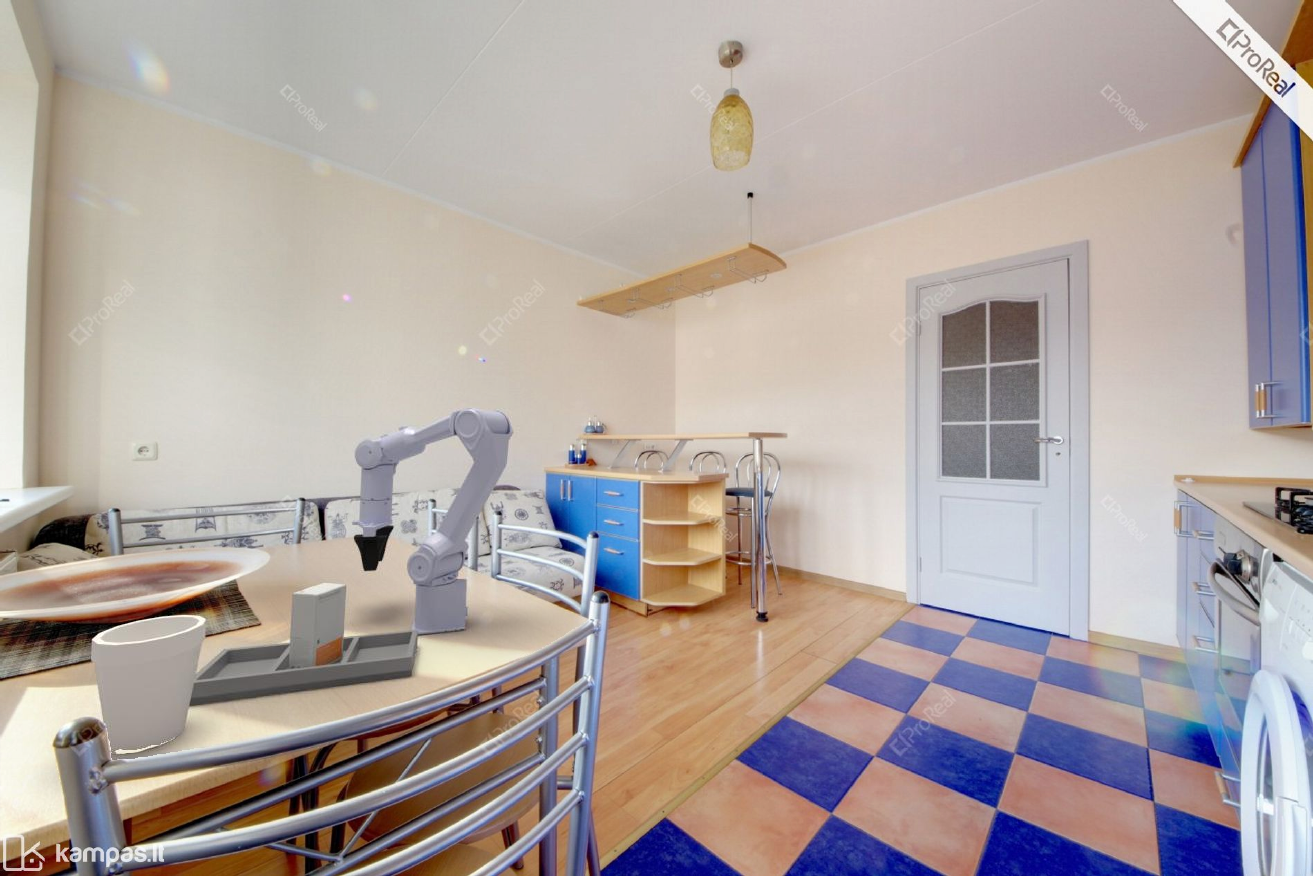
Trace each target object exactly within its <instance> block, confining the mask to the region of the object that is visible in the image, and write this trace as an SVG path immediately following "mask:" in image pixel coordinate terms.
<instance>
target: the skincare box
mask: <svg viewBox="0 0 1313 876" xmlns="http://www.w3.org/2000/svg"><path fill="white" fill-rule="evenodd" d="M346 596H347V584H343V583H342V584H341V583H333V582H332V583H329V582H322V583H319V584H317V585H313V586H310V587H307V588H305V589H302V590H299V591H295V592H293V593H292V595H291V597H292V598H291V615H290V632H289V633H290V634H289V635H290V636H289V643H290V650H289V669H295V668H304V667H312V666H321V665H329V664H333V663H335V662H337V661H340V660H341V659H342V658H343V640H344V637H345V634H344V633H345V621H346V620H345V616H346V614H345V613H346V599H347V598H346Z"/></svg>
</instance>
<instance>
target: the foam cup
mask: <svg viewBox="0 0 1313 876" xmlns="http://www.w3.org/2000/svg"><path fill="white" fill-rule="evenodd" d="M206 625H207V619H206V618H204V617H203V616H201V615H191V614H190V615H189V614H181V615H180V614H178V615H169V616H168V615H165V616H159V617H154V618H147V619H142V620H136V621H133V622H132V621H131V622H128V623H125V624H121V625H117V626H114V627H112V628H111V627H110V628H109V629H106V630H104V631H102V632H99V633H97V635H95V636H94V637H93V638H92V639H91V651H90V652H91V654H90V655H91V656H90V657H91V658H90V661H91V662H92V663H93V664H94V672H95V676H96V682H97V683H96V684H97V690H98V697H99V702H100V708H101V716H102V721H103V724H104V723H105V724H106V728H107V732H108V739H109V741H110V747H111V752H112V754H111V755H117V754H116V752H115V751H116V750H119V749H122V750H137V749H142V748H146V747H148V746H151V745H160V744H161V743H164V742H166V741H169V740H171V739H173V738H174V737H176V736H177V735H178V736H180V735H181V734H183V732H184V730H185V724H186V723H187V717H188V714H189V708H190V706H189V704H190V699H191V695H192V690H193V685H194V680H195V675H196V674H197V670H198V664H199V660H200V654H201V651H202V650H201V649H202V645H203V643H204V641H205V638H206V630H207V629H206V627H207V626H206ZM179 734H180V735H179ZM178 736H177V737H178ZM177 737H176V738H177ZM174 739H175V738H174ZM174 739H173V740H174ZM171 741H172V740H171ZM169 742H170V741H169ZM160 746H161V745H160ZM111 752H110V753H111ZM118 755H120V754H118ZM121 755H122V756H125V755H124V754H121ZM121 755H120V756H121Z"/></svg>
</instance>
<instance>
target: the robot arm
mask: <svg viewBox="0 0 1313 876" xmlns="http://www.w3.org/2000/svg"><path fill="white" fill-rule="evenodd" d="M513 435H514V429H513V426H512V424H511V421H510V419H509V417H508V415H507V414H506V413H504V412H503V411H500V410H488V409H486V410H485V409H480V408H479V409H478V408H476V407H473V406H472V407H465V408H463V409H461V410H455V411H452V413H451V414H449V415H447V416H445V417H442V418H440V419H439V420H436V421H434V422H432V423H429V424H427V425H426V426H423V427H421V428H416V427H414V426H409V425H402V426H399V427H398V431H395V432H392V433H390V434H383V435H380V438H378V439H377V440H376V439H375V440H374V439H370V438H365V439H364V440H362V441H361V442H359V443H358V444H357V446H356V448H355V451H354V457H355V458H354V459H355V461H356V464H357V465H358V466H359V467H360V468H361V473H360V494H359V517H358V518H359V519H355V520H352V522H351V525H352V526H358V527H360V528H361V529H362V533H361V534H354V536H353V540H354V543H355V544H356V546H357V548H358V550H359V553H360V558H361V564H362V565H361V566H362V568H363V572H375V571H377V570H378V566H379V562H383V560H384V557H385V552H386V549H387V543H388V541H389V539H390V535H391V533H392V532H393V530H394V528H395V526H394V525H392V524H393V519H392V516H393V515H392V511H393V492H394V491H393V490H394V476H395V474H396V473H397V472H396V471H397V466H398V465H399V464H400V462H401V461H404V460H407V459H410V458H412V457H416V456H418V455H420V454H422V453H424V451H425V450H426V447H427V445H431V444H433V443H436V442H440V441H442V440H445V439H446V440H447V439H449V438H452V437H454V436H457V438H459V440H460V441H461V443H462V445H463V446H464V448H465V449H466V451H467V452H468V453H469V455H470V457H471V458H472V461H473V464H472V466H471V467H470V469H469V472H468V473H467V475H466V476H465V479H464V480H463V482H462V484H461V486H460V488H459V490H458V491H457V494H456V495H455V497H454V499H453V501H452V503H451V504H450V506H449V508H448V510H447V512H446V514H445V516H444V517H443V519H442V520H441V523H440V525H438V526H439V527H438V529H437V530H436V531H435V532H434V533H433V534H431V535H430V536H428V538H427V539H425V540H424V541H423V542H422V544H421V545H420V547H419V548H418V549H417V550H416V551H414V552H413V553H412V554H411V555H410V556H409V557H408V560H407V564H406V570H407V574H408V577H410V579H411V580H412V581H413V583H412V584H413V585H415V600H414V601H415V604H414V619H413V621H412V625H411V629H410V630H418V635H427V634H435V633H436V634H437V633H445V631H447V632H456V631H455V630H457V631H460V630H459V629H464V630H466V617H468V611H469V609H468V606H467V585H468V584H467V581H468V580H467V578H458V577H459V572H460V571H461V570H462V569H463V567H464V565H465V562H466V553H467V552H468V550H469V547H470V546H469V544H468V542H467V540H466V539H467V537H468V535H469V534H470V532H471V530H472V528H473V526H474V524H475V523H476V521H477V519H478V517H479V515H480V514H481V512H482V510H483V508H484V507H485V505H486V502H487V501H488V499H489V498H490V496H491V493H492V492H493V490H494V489H495V487H496V485H497V483H498V481H499V480H500V478H501V476H502V475H503V472H504V471H505V468H506V467H507V463H508V454H509V442H510V440H511V437H512V436H513Z"/></svg>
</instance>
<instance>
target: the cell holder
mask: <svg viewBox="0 0 1313 876" xmlns="http://www.w3.org/2000/svg"><path fill="white" fill-rule="evenodd" d="M418 636H419V634H418V630H411V629H410V630H400V631H398V630H397V631H389V632H380V633H371V634H370V633H369V634H360V635H350V636H344V640H343V658H342V659H341V660H340V661H337V662H335V663H333V664H329V665H321V666H312V667H304V668H295V669H289V650H290V642H282V643H281V642H280V643H273V644H272V643H271V644H263V645H260V644H259V645H252V646H241V647H233V648H224V649H223V650H222V651H220V652H219V653H217V655H216V656H214V658H212V659H211V660H210V661H209V662H208V663H207V664H206V665H205V666H203V667H202V668H201V669H200V670H199V671H197V672H196V675H195V680H194V685H193V690H192V695H191V699H190V704H189V707H191V706H197V705H198V706H199V705H206V704H212V703H221V702H229V701H234V700H235V701H236V700H242V699H243V700H244V699H249V698H250V699H251V698H259V697H265V696H274V695H281V694H288V693H289V694H290V693H295V692H303V691H304V692H305V691H310V690H311V691H312V690H319V689H327V688H334V687H340V686H349V685H356V684H364V683H370V682H378V681H385V680H388V681H389V680H395V679H401V678H403V679H404V678H410V677H412V672H413V669H414V663H415V660H416V659H415V658H416V655H417V650H416V649H418ZM415 654H416V655H415Z"/></svg>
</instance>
